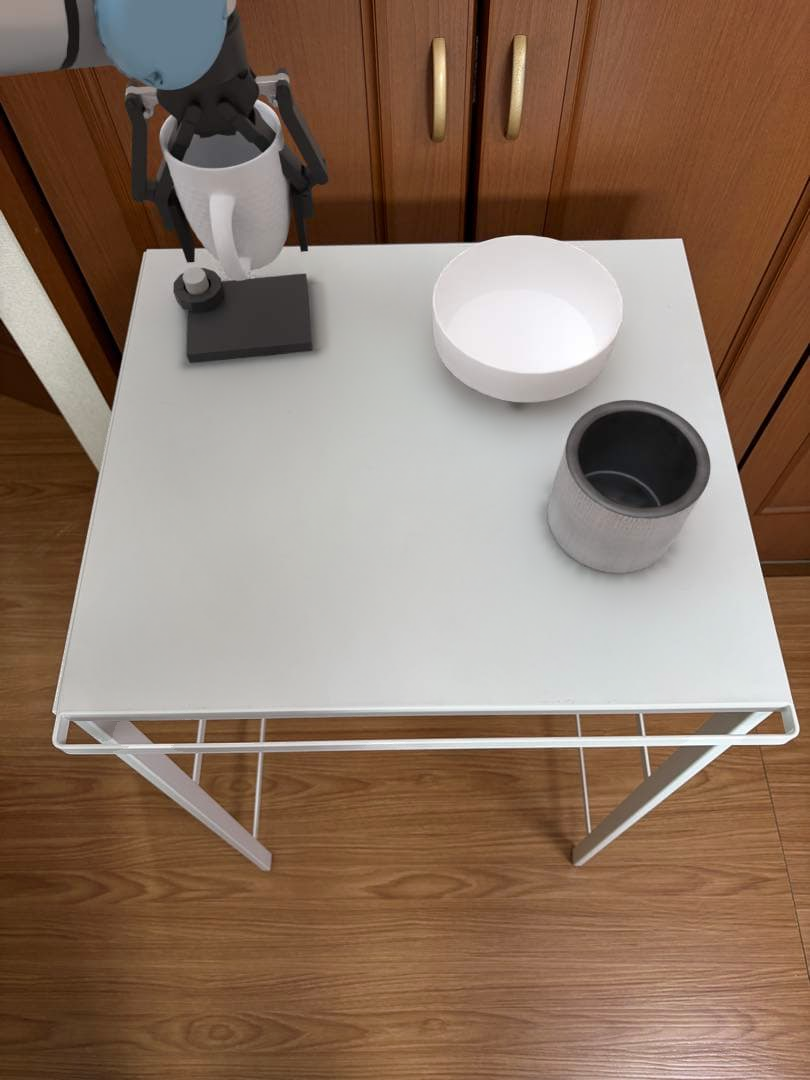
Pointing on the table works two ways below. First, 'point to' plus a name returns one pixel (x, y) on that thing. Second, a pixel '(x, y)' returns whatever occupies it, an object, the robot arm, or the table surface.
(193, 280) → the button
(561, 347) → the bowl
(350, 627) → the table surface
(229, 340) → the scale
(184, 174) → the mug
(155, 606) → the table surface
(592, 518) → the planter
